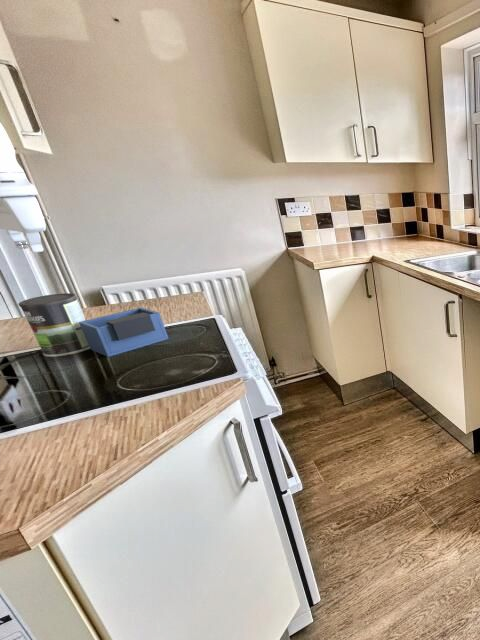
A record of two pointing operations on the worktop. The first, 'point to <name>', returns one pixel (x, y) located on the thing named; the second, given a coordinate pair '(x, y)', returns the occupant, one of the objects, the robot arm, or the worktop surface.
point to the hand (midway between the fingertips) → (30, 250)
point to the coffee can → (56, 323)
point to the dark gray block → (132, 325)
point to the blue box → (107, 341)
